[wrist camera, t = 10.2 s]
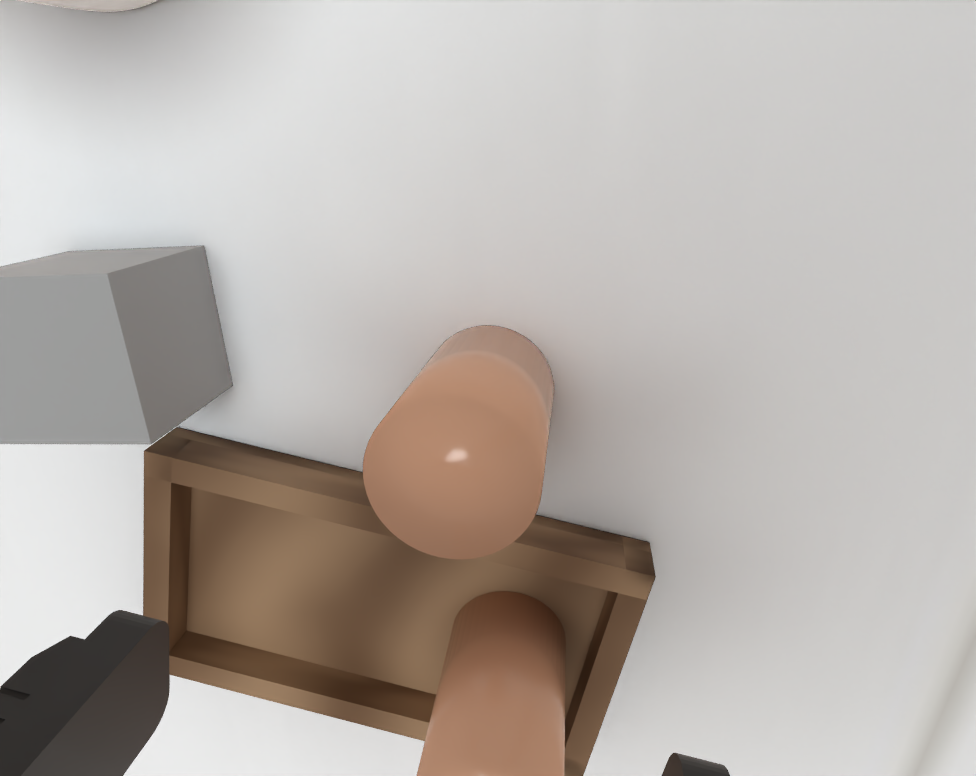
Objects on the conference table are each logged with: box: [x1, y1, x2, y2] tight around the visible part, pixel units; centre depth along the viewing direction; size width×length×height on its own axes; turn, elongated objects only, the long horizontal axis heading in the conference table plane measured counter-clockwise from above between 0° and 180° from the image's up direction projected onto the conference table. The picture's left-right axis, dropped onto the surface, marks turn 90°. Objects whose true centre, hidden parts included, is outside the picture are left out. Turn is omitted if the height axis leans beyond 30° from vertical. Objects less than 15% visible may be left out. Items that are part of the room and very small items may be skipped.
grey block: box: [0, 246, 233, 444], centre depth 21 cm, size 5×5×5 cm
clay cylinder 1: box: [363, 326, 554, 559], centre depth 19 cm, size 4×4×7 cm
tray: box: [143, 427, 656, 776], centre depth 25 cm, size 18×10×2 cm, turn 78°
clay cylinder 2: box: [417, 591, 566, 776], centre depth 22 cm, size 4×4×7 cm
